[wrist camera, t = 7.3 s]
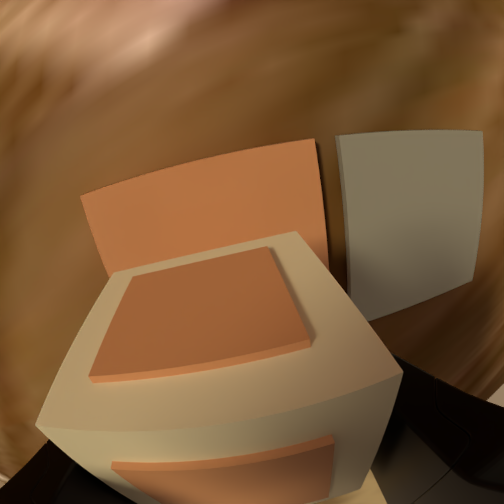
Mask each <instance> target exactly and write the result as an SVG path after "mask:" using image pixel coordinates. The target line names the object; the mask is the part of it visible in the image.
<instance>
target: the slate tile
mask: <svg viewBox="0 0 504 504" xmlns="http://www.w3.org/2000/svg"><path fill="white" fill-rule="evenodd" d="M335 140H336V147H337V155H338V163H339V171H340V180H341V189H342V200H343V211H344V224H345V240H346V260H347V295H348V297H349V298H350V299H351V300H352V302H353V303H354V304H355V306H356V307H357V308H358V310H359V311H360V312H361V314H362V315H363V316H364V318H365V319H366V320H367V322H368V321H371V320H374V319H377V318H380V317H383V316H386V315H388V314H391V313H394V312H397V311H399V310H402V309H405V308H407V307H410V306H413V305H415V304H418V303H420V302H423V301H425V300H428V299H430V298H433V297H435V296H438V295H440V294H443V293H445V292H447V291H450V290H452V289H454V288H456V287H459V286H461V285H463V284H465V283H468V282H470V281H472V279H473V274H474V269H475V263H476V258H477V251H478V244H479V237H480V228H481V219H482V206H483V186H484V152H483V133H482V131H478V130H443V129H435V130H397V131H380V132H366V133H354V134H344V135H335Z"/></svg>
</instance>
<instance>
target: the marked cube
mask: <svg viewBox="0 0 504 504" xmlns="http://www.w3.org/2000/svg"><path fill="white" fill-rule="evenodd" d="M402 376H403V370H402V369H401V368H400V366H399V365H398V363H397V362H396V360H395V359H394V358H393V356H392V355H391V353H390V352H389V351H388V349H387V348H386V346H385V345H384V344H383V342H382V341H381V339H380V338H379V337H378V335H377V334H376V333H375V331H374V330H373V329H372V327H371V326H370V324H369V323H368V322H367V320H366V319H365V318H364V316H363V315H362V314H361V312H360V311H359V310H358V308H357V307H356V306H355V304H354V303H353V302H352V300H351V299H350V298H349V297H348V295H347V294H346V293H345V291H344V290H343V289H342V287H341V286H340V285H339V284H338V282H337V281H336V280H335V278H334V277H333V276H332V275H331V273H330V272H329V271H328V270H327V268H326V267H325V266H324V264H323V263H322V262H321V261H320V259H319V258H318V257H317V256H316V254H315V253H314V252H313V251H312V250H311V248H310V247H309V246H308V245H307V243H306V242H305V241H304V240H303V238H302V237H301V236H300V235H299V234H298V232H297V231H293V232H288V233H284V234H279V235H275V236H270V237H266V238H261V239H257V240H252V241H248V242H243V243H239V244H234V245H230V246H226V247H221V248H217V249H212V250H208V251H204V252H199V253H195V254H191V255H186V256H182V257H178V258H173V259H169V260H165V261H160V262H156V263H152V264H148V265H143V266H139V267H135V268H131V269H127V270H122V271H118V272H114V273H113V274H112V276H111V278H110V279H109V281H108V282H107V284H106V286H105V287H104V289H103V291H102V292H101V294H100V295H99V297H98V299H97V300H96V302H95V304H94V306H93V307H92V309H91V311H90V312H89V314H88V316H87V318H86V320H85V321H84V323H83V325H82V327H81V329H80V330H79V332H78V334H77V336H76V338H75V340H74V342H73V343H72V345H71V347H70V349H69V351H68V353H67V355H66V357H65V359H64V361H63V363H62V365H61V367H60V369H59V371H58V373H57V375H56V378H55V380H54V382H53V384H52V386H51V388H50V391H49V393H48V395H47V397H46V400H45V402H44V404H43V407H42V409H41V412H40V414H39V416H38V419H37V421H36V424H35V426H36V427H37V428H38V429H39V430H41V431H42V432H43V433H44V434H45V435H46V436H47V437H48V438H49V439H50V440H51V441H52V442H53V443H54V444H56V445H57V446H58V447H59V448H60V449H61V450H62V451H64V452H65V453H66V454H67V455H68V456H69V457H71V458H72V459H73V460H74V461H76V462H77V463H78V464H79V465H81V466H82V467H83V468H85V469H86V470H87V471H89V472H90V473H91V474H93V475H94V476H95V477H97V478H98V479H100V480H101V481H102V482H104V483H105V484H107V485H108V486H110V487H111V488H113V489H114V490H116V491H118V492H119V493H121V494H122V495H124V496H126V497H127V498H129V499H131V500H132V501H134V502H136V503H137V504H314V503H318V502H322V501H325V500H329V499H332V498H335V497H338V496H341V495H344V494H347V493H350V492H353V491H356V490H359V489H361V487H362V485H363V482H364V480H365V478H366V476H367V474H368V472H369V469H370V467H371V465H372V463H373V460H374V458H375V456H376V453H377V451H378V448H379V446H380V443H381V441H382V438H383V435H384V433H385V430H386V427H387V424H388V421H389V419H390V416H391V413H392V410H393V406H394V403H395V400H396V397H397V393H398V390H399V387H400V383H401V379H402Z"/></svg>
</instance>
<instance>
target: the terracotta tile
mask: <svg viewBox="0 0 504 504" xmlns="http://www.w3.org/2000/svg"><path fill="white" fill-rule="evenodd" d="M80 197H81V201H82V204H83V207H84V210H85V214H86V217H87V220H88V223H89V226H90V228H91V231H92V234H93V237H94V240H95V243H96V245H97V248H98V251H99V253H100V256H101V258H102V261H103V263H104V266H105V268H106V271H107V273H108V276H109V278H111V276H112V274H113V273H114V272H118V271H122V270H127V269H131V268H135V267H139V266H143V265H148V264H152V263H156V262H160V261H165V260H169V259H173V258H178V257H182V256H186V255H191V254H195V253H199V252H204V251H208V250H212V249H217V248H221V247H226V246H230V245H234V244H239V243H243V242H248V241H252V240H257V239H261V238H266V237H270V236H275V235H279V234H284V233H288V232H293V231H297V232H298V234H299V235H300V236H301V237H302V238H303V240H304V241H305V242H306V243H307V245H308V246H309V247H310V248H311V250H312V251H313V252H314V253H315V254H316V256H317V257H318V258H319V259H320V261H321V262H322V263H323V264H324V266H325V267H326V268H327V270H328V271H329V261H328V248H327V237H326V226H325V216H324V207H323V198H322V190H321V182H320V174H319V167H318V159H317V153H316V146H315V140H314V139H312V138H310V139H303V140H296V141H289V142H283V143H277V144H271V145H265V146H260V147H254V148H249V149H244V150H239V151H234V152H229V153H225V154H220V155H216V156H211V157H207V158H203V159H198V160H194V161H190V162H186V163H182V164H178V165H175V166H171V167H167V168H163V169H160V170H156V171H153V172H149V173H146V174H143V175H139V176H136V177H133V178H129V179H126V180H123V181H120V182H117V183H114V184H111V185H108V186H105V187H102V188H99V189H96V190H93V191H91V192H88V193H85V194H83V195H81V196H80Z"/></svg>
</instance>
